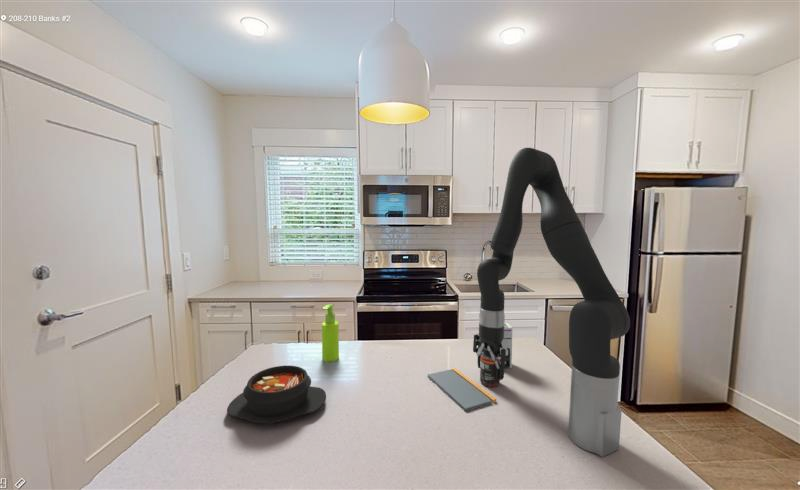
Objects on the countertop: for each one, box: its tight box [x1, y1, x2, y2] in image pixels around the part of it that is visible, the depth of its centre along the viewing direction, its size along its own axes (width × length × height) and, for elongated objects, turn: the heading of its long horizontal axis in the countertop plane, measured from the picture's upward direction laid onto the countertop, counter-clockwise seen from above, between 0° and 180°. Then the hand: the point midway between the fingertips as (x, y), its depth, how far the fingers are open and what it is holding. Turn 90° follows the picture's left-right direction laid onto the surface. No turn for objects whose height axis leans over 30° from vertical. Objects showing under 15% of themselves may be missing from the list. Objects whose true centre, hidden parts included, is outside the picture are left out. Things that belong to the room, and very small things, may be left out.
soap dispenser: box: [321, 303, 340, 363], centre depth 114 cm, size 6×7×20 cm
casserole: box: [226, 365, 327, 424], centre depth 84 cm, size 25×19×8 cm
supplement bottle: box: [479, 347, 501, 388], centre depth 98 cm, size 6×6×11 cm
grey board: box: [427, 367, 497, 412], centre depth 95 cm, size 20×11×1 cm, turn 25°
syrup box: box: [498, 322, 513, 370], centre depth 110 cm, size 6×6×14 cm
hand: (489, 373), depth 98 cm, fingers open, 8 cm apart
